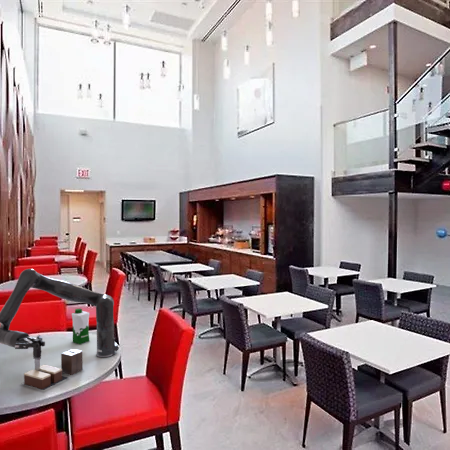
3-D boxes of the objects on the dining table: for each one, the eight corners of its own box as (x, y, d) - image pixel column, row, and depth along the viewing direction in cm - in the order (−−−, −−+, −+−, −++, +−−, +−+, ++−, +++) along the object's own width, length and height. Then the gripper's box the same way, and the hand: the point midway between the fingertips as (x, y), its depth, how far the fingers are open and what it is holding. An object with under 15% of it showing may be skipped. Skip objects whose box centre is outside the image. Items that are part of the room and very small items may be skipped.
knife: (32, 379, 175) (32, 340, 174) (37, 377, 177) (36, 338, 176) (37, 381, 173) (37, 341, 173) (42, 379, 176) (41, 339, 175)
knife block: (61, 374, 184) (61, 353, 184) (72, 368, 191) (72, 348, 190) (71, 376, 181) (71, 355, 181) (82, 371, 188) (82, 350, 187)
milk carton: (82, 338, 236) (82, 307, 235) (91, 341, 231) (91, 309, 231) (70, 342, 229) (69, 310, 228) (79, 345, 224) (79, 312, 223)
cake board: (21, 385, 172) (21, 383, 172) (46, 373, 185) (46, 371, 185) (43, 392, 166) (43, 390, 166) (68, 379, 179) (68, 377, 179)
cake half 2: (36, 378, 178) (36, 367, 178) (44, 374, 182) (44, 364, 182) (54, 383, 173) (54, 372, 173) (62, 379, 177) (62, 368, 177)
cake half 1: (24, 383, 172) (24, 373, 172) (32, 379, 176) (32, 369, 176) (42, 389, 167) (42, 378, 167) (50, 384, 171) (50, 374, 171)
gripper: (2, 336, 174) (28, 341, 167) (29, 327, 187) (53, 332, 179) (3, 351, 174) (28, 358, 167) (29, 342, 187) (54, 348, 180)
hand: (41, 345), depth 173 cm, fingers closed on knife, 2 cm apart
